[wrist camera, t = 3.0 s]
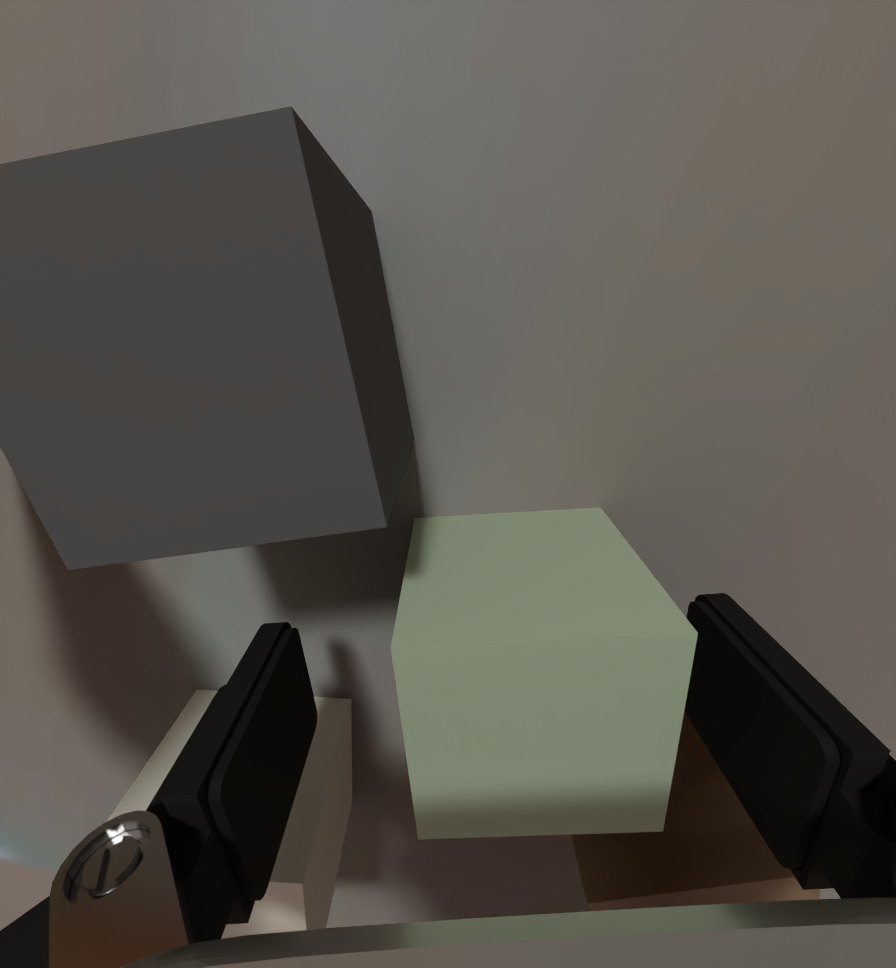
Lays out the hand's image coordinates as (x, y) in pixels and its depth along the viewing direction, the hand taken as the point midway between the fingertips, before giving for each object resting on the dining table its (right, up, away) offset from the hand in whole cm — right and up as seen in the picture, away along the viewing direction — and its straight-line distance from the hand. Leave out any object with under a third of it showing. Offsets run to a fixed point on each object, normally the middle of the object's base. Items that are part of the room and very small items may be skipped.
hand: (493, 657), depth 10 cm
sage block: (+1, +1, +2) cm, 3 cm away
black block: (-5, +7, 0) cm, 9 cm away
